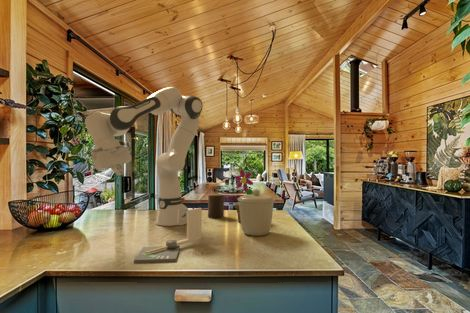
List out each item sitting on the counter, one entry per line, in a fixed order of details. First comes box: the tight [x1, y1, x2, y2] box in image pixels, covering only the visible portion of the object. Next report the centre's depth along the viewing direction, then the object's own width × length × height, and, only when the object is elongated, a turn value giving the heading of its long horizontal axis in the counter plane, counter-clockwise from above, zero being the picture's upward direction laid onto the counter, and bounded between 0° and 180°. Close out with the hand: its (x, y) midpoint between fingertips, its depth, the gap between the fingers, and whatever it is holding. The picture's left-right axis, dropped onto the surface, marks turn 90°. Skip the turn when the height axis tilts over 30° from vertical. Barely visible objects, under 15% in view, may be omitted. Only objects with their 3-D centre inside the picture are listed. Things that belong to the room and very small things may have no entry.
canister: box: [236, 188, 276, 237], centre depth 131 cm, size 18×18×21 cm
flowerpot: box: [234, 169, 254, 224], centre depth 155 cm, size 14×14×30 cm
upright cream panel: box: [145, 207, 203, 254], centre depth 107 cm, size 26×4×13 cm, turn 139°
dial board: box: [133, 245, 181, 264], centre depth 100 cm, size 14×14×1 cm
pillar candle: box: [207, 193, 225, 219], centre depth 168 cm, size 10×10×15 cm
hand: (120, 174), depth 124 cm, fingers closed
